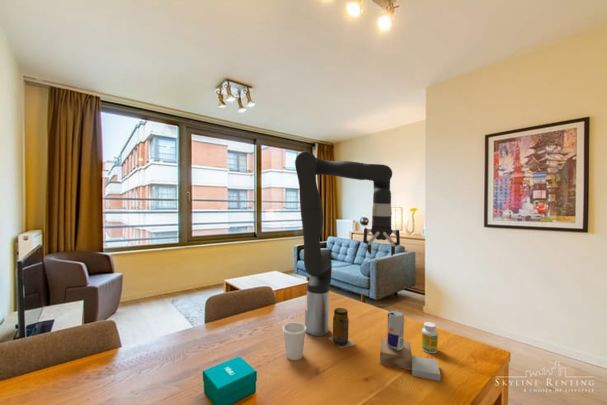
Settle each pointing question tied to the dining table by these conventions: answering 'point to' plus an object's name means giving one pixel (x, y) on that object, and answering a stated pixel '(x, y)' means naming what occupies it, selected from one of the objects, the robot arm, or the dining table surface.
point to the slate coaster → (425, 368)
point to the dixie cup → (294, 340)
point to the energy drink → (395, 330)
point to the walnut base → (396, 355)
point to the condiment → (340, 328)
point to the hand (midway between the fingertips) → (381, 254)
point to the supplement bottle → (429, 338)
